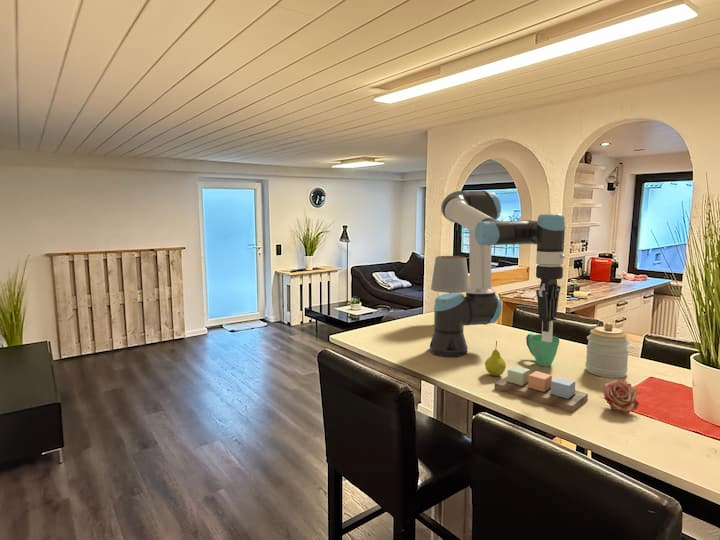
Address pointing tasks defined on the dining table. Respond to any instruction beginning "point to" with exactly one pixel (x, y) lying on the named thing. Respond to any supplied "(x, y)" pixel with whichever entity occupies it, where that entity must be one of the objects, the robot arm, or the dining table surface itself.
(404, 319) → the dining table surface
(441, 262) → the lamp
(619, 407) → the flower
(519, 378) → the button sage
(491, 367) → the fruit
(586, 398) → the button board
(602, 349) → the jar
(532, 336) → the mug
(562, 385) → the button slate
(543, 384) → the button terracotta
